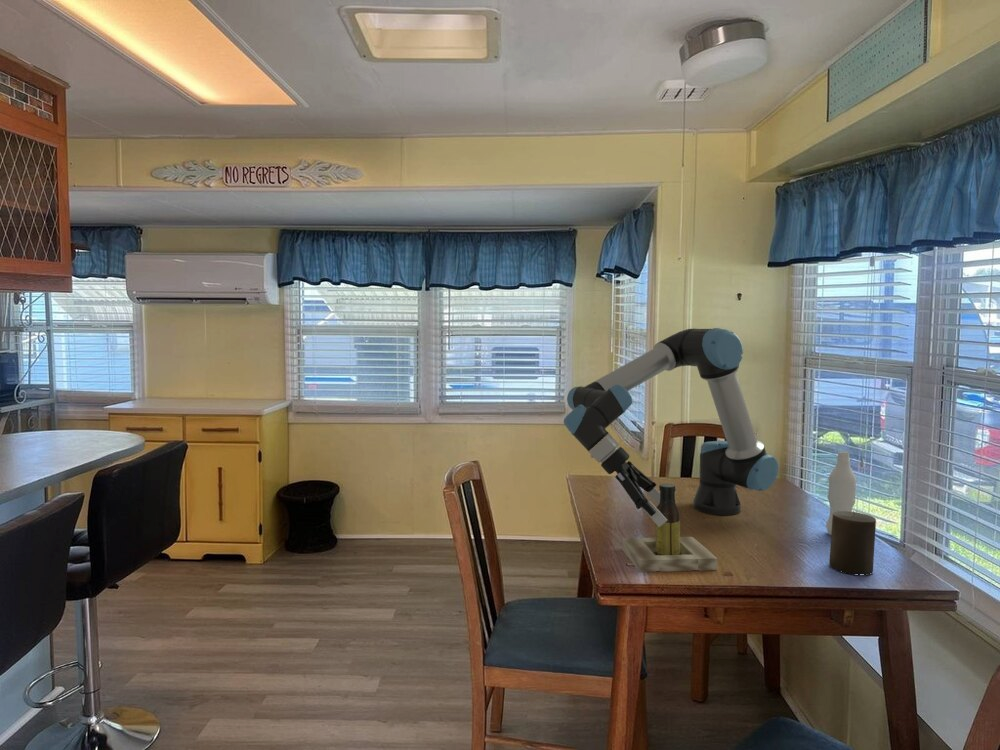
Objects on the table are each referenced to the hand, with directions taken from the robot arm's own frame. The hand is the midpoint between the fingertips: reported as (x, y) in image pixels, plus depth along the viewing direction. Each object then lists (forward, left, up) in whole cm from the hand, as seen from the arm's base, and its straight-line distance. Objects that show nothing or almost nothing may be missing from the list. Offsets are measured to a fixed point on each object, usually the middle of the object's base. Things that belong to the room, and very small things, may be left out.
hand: (665, 516), depth 159 cm
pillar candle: (-46, +9, -12) cm, 48 cm away
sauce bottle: (-1, 0, -12) cm, 12 cm away
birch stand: (-1, 0, -12) cm, 12 cm away
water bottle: (-59, -15, -12) cm, 62 cm away
